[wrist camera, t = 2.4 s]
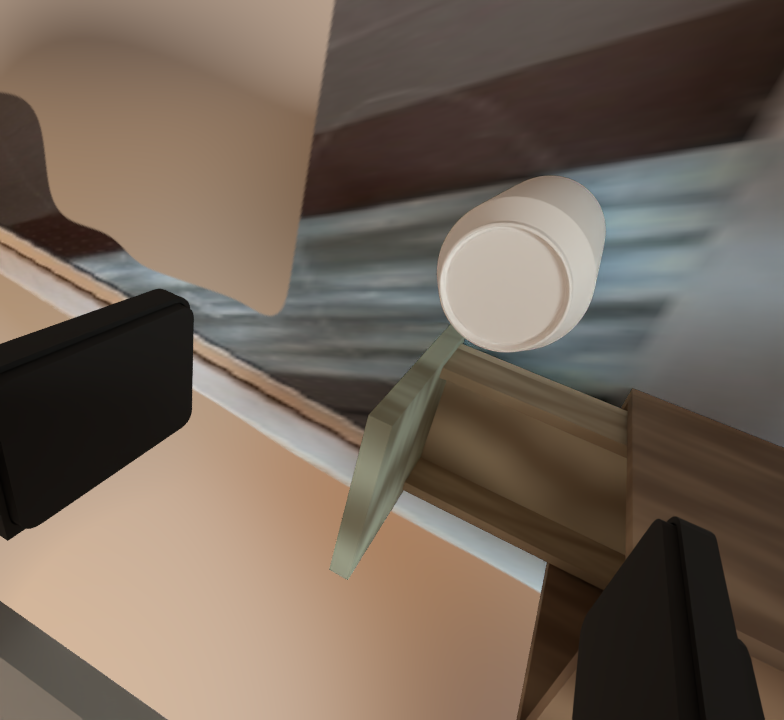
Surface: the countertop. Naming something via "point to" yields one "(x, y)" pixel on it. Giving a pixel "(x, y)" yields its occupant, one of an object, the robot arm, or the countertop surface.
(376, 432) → the green-fronted drawer
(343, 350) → the countertop surface
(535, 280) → the beverage can
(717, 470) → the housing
